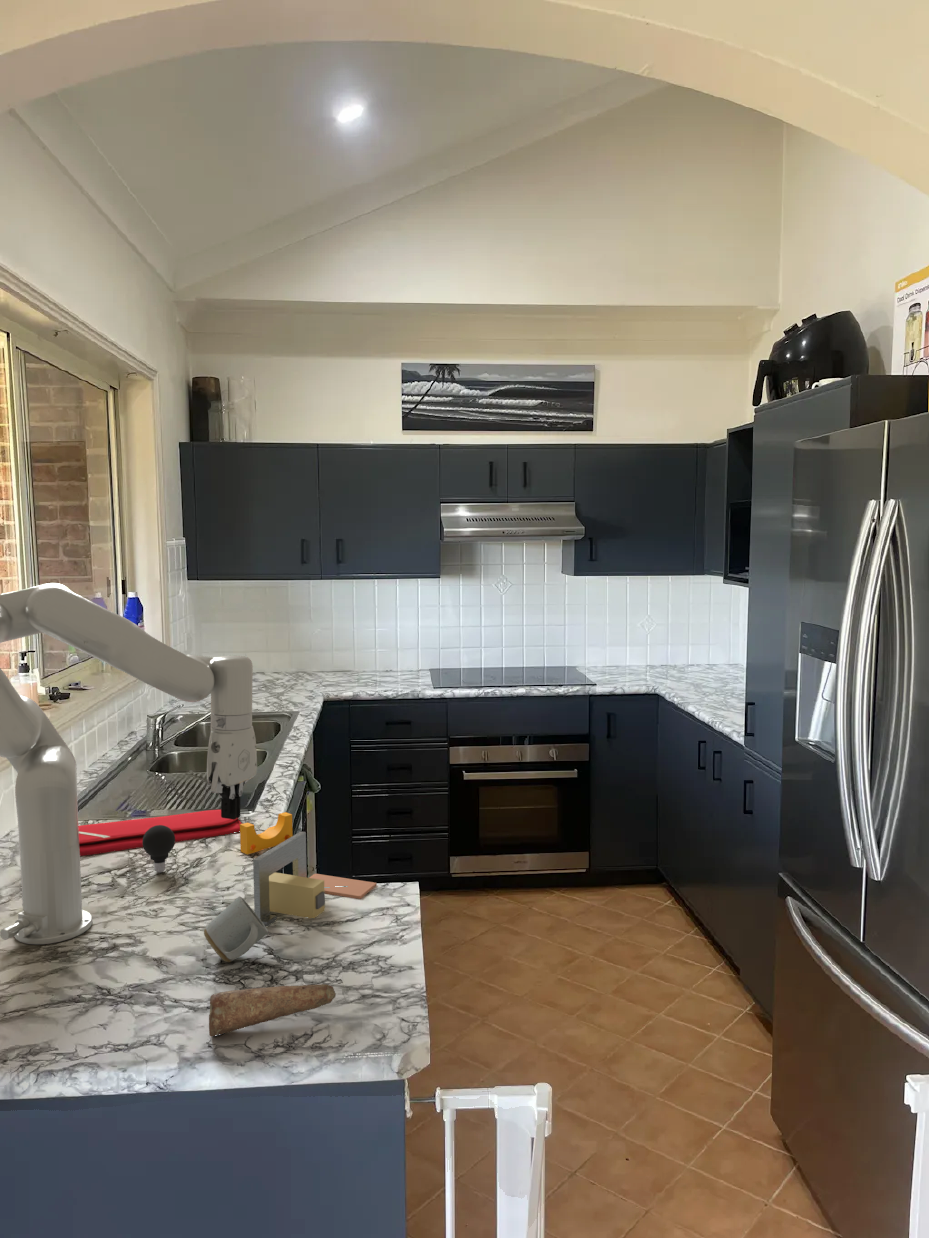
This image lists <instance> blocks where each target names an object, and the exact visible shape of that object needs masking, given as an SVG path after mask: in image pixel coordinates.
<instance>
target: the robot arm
mask: <svg viewBox="0 0 929 1238" xmlns="http://www.w3.org/2000/svg"><path fill="white" fill-rule="evenodd" d="M39 634H45V635H46V636H49V637H50V638H52V639H55V640H57V641H59V642H61V643H63V644H66V645H68V646H70V647H72V648H74V649H77V650H78V651H81V652H83V653H84V654H87V655H89V656H90V657H93V658H95V659H97V660H99V661H101V662H104V663H105V664H107V665H109V666H110V667H112V668H114V669H116V670H118V671H120V672H123V673H126V674H127V675H129V676H131V677H133V678H135V679H137V680H139V681H141V682H143V683H144V684H147V685H149V686H150V687H153V688H154V689H156V690H159V691H161V692H163V693H165V694H167V695H168V696H169V695H170V696H171V697H173V698H176V699H178V700H180V701H182V702H186V703H187V702H188V703H196V702H200V701H203V700H204V699H206V698H207V697H209V695H210V734H209V739H208V747H207V756H206V778H207V783H209V784H211V786H210V792H211V793H214V794H218V795H219V796H218V797H219V798H220V799H221V802H220V805H221V806H220V810H221V817H222V818H227V819H233V820H234V819H236V818H238V819H239V818H240V817H241V797H242V795H243V791H244V786H245V784H246V783H247V782H249V781H250V779H253V778H254V777H255V776H256V775H257V772H258V757H257V754H258V753H257V742H256V741H257V739H256V735H255V730H254V726H253V673H254V672H253V671H254V670H253V667H254V666H253V662H252V660H251V658H249V657H248V656H243V655H233V654H232V655H231V654H230V655H220V656H207V655H198V654H185V653H183V652H181V651H179V650H177V649H175V648H173V647H171V646H170V645H168V644H165V643H163V642H162V641H160V640H158V639H157V638H155V637H153V636H152V635H150V634H149V633H147V632H146V631H145V630H144V629H142V628H141V627H140V626H139V625H138V624H137V623H134V622H133V621H131V620H129V619H127V617H124V616H121V615H119V614H118V613H117V612H116V613H115V612H114V611H111V610H110V609H107V608H106V607H104V606H101V605H99V604H98V603H96V602H94V601H91V600H89V599H88V598H85V597H84V596H82V595H80V594H77V593H75V592H74V591H73V590H71V588H69V587H68V586H66V585H64V584H61V583H58V582H50V583H49V582H48V583H43V584H40V585H36V586H35V585H34V586H32V587H28V588H24V589H23V588H22V589H20V590H19V589H17V590H14V591H9V592H5V593H0V644H1V643H5V642H9V641H13V640H17V639H23V638H26V637H30V636H34V635H39ZM0 758H4V759H5V758H6V760H7V761H8V762H9V764H10V765H11V766H12V768H13V769H14V770H15V772H16V773H17V775H16V779H15V784H14V785H15V786H14V788H15V789H14V791H15V793H14V794H15V797H14V798H15V805H16V807H15V808H16V815H17V816H16V817H17V826H18V827H17V829H18V830H17V831H18V844H19V845H18V846H19V847H18V848H19V858H20V859H19V860H20V861H19V862H20V878H21V879H20V880H21V900H22V911H20V912H18V913H17V918H18V919H16V920H15V922H14V923H13V924H9V925H8V926H6V927H4V928H1V929H0V938H1V939H3V940H4V941H6V940H9V939H10V938H13V937H14V938H15V940H16V941H18V942H20V943H22V944H28V945H48V944H55V943H60V942H64V941H67V940H70V939H73V938H75V937H79V936H80V935H82V934H84V933H85V932H86V931H89V929H90V928H91V927H92V925H93V916H92V914H91V913H90V912H89V911H87V910H84V909H83V897H82V877H81V876H82V875H81V874H82V873H81V856H80V849H79V828H78V826H79V813H78V811H79V810H78V766H77V761H76V760H77V759H76V758H75V756H74V753H73V752H72V751H71V749H70V747H69V746H68V744H67V743H66V742H65V740H64V739H63V737H62V736H61V735H60V733H59V732H58V730H57V729H56V728H55V726H54V725H53V723H52V721H51V720H50V719H49V717H48V716H47V714H46V713H45V712H44V710H43V709H42V708H41V706H40V705H39V704H38V703H36V701H34V700H33V699H31V698H30V697H28V696H24V695H21V694H19V692H18V691H17V690H16V689H15V687H14V686H13V684H12V683H11V682H10V679H9V678H8V676H7V675H6V673H5V672H4V671H3V669H1V667H0Z"/></svg>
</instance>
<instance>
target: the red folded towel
mask: <svg viewBox="0 0 929 1238" xmlns="http://www.w3.org/2000/svg"><path fill="white" fill-rule="evenodd" d="M240 824H243V823H242V822H241V820H240V819H239V818H236V819H234V820H233V819H227V818H222V817H221V809H208V810H201V811H194V812H186V813H180V814H179V813H178V814H171V815H164V816H154V817H146V818H134V819H126V820H119V821H111V822H110V821H109V822H101V823H99V822H98V823H92V824H83V825H78V828H79V849H80V857H83V856H84V857H85V856H92V855H98V854H104V853H105V854H106V853H112V852H118V851H126V850H132V849H139V848H143V844H142V841H143V837H144V835H145V833H146V832H147V830H149V829H150V828H151V827H153V826H156V825H164V826H167V827H169V828H170V829H171V830H172V831H173V833H174V835H175V843H179V842H188V841H192V840H199V839H207V838H213V837H214V838H215V837H219V835H220V836H224V835H225V834H226V835H231V834H230V833H232V834H235V833H234V832H238V833H240V832H239V831H240Z"/></svg>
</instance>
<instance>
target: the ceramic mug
mask: <svg viewBox="0 0 929 1238" xmlns="http://www.w3.org/2000/svg"><path fill="white" fill-rule="evenodd" d="M268 933H269V930H268V928H267V927H266V926H265V925H264V924H263V922H262V921H261V920H260V919H259V917H258V916H257V915H256V913H255V911H254V910H253V908H252V907H251V906H250V905H249V903H248V902H246V900H245V899H244V898H243V897H241V896H240V895H239V896H238V897H236V899H234V900H233V901H232V902H231V903H230V904H229V905H227V907H226V908H225V909H223V911H221V912H220V913H219V914H218V915H217V916H216V917H215V918H213V919H212V920H211V921H210V922H209V923H208V925H207V926H206V927H205V928H204V930H203V936H204V937H205V940H206V941H207V942H208V944H209V945H210V947H211V948H212V949H213V951H214V952H215V953H216V954H217V956H219V958H220V959H222V960H223V961H224V962H225V963H231V962H233V961H235V960H236V959H238V958H240V957H242V956H244V955H245V954H246V953H247V952H248V951H250V949H251V948H252V947H253V946H254V945H255V944H257V943H258V942H259V941H261V940H262V939H263V938H264V937H265V936H267V935H268Z"/></svg>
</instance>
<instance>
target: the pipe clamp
mask: <svg viewBox="0 0 929 1238" xmlns="http://www.w3.org/2000/svg"><path fill="white" fill-rule="evenodd" d="M277 814H278V815H277V821H276V824H275V825H272V826H271V827H267V828H266V829H265V830H264V831H262V832H261V833H257V832H256V829H255V824H252V823H250V822H244V823H242V824H240V832H239V837H240V839H239V841H240V842H239V843H240V853H243V854H245V855H251V854H254V853H257V852H261V851H263V850H267V849H271V848H274V847H275V846H277V845H279V844H280V843H282V842H284V841H285V840H287V839H289V838H290V837H292V836H294V834H293V832H294V831H293V814H292V813H289V812H286V811H284V812H281V813H277Z"/></svg>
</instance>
